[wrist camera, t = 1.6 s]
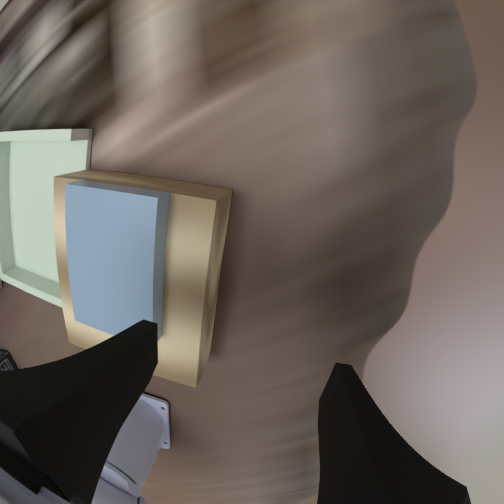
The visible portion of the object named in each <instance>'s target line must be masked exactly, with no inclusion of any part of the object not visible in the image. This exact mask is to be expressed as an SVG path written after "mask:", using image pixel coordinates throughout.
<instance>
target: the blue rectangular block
mask: <svg viewBox="0 0 504 504" xmlns="http://www.w3.org/2000/svg"><path fill="white" fill-rule="evenodd" d="M169 199H170V193H168V192H162V191H155V190H149V189H143V188H136V187H129V186H122V185H115V184H108V183H101V182H94V181H86V180H79V181H75V182H71V183H67V184H65V223H66V246H67V260H68V272H69V281H70V290H71V298H72V305H73V312H74V318H75V321H77V322H80V323H82V324H85V325H87V326H90V327H92V328H95V329H98V330H100V331H103V332H106V333H108V334H111V335H116V334H118V333H120V332H121V331H123V330H125V329H127V328H128V327H130V326H132V325H134V324H136V323H137V322H139V321H141V320H143V319H144V320H148V321H151V322H154V323H158V341H159V339H160V338H161V336H162V324H163V286H164V265H165V248H166V234H167V221H168V210H169Z"/></svg>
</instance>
